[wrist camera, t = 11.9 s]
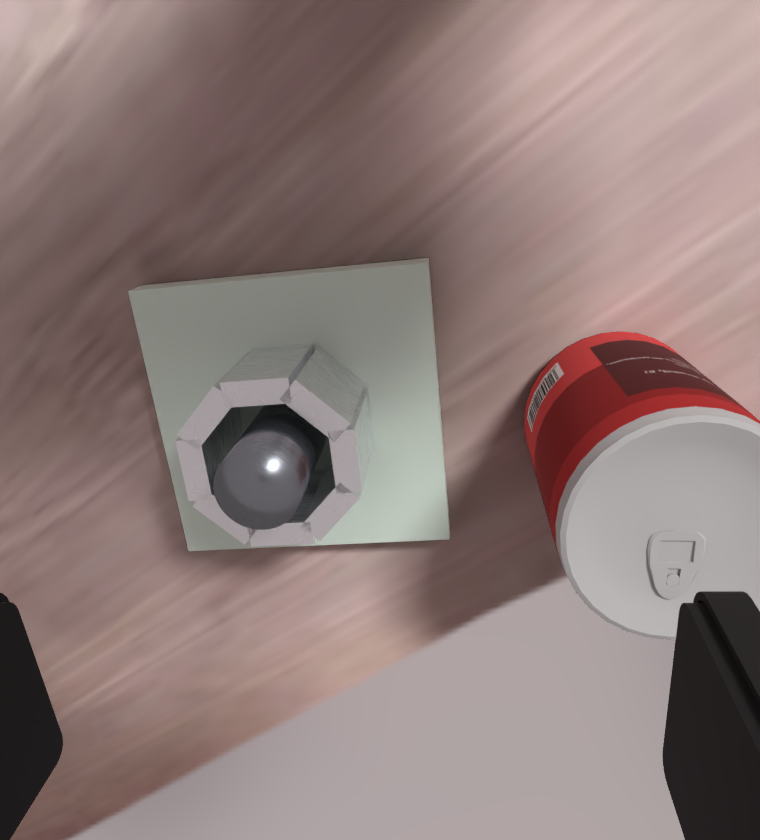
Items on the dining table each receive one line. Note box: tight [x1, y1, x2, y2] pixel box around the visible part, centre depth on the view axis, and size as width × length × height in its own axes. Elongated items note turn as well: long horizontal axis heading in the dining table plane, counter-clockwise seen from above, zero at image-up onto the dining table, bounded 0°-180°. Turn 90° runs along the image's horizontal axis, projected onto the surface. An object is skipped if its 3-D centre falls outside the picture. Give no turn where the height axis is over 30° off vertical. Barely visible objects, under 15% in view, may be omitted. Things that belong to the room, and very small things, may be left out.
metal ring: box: [175, 343, 374, 547], centre depth 29 cm, size 7×7×5 cm
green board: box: [128, 258, 450, 551], centre depth 32 cm, size 13×13×2 cm
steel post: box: [213, 404, 328, 530], centre depth 28 cm, size 3×3×7 cm
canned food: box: [524, 332, 760, 640], centre depth 26 cm, size 8×8×11 cm
